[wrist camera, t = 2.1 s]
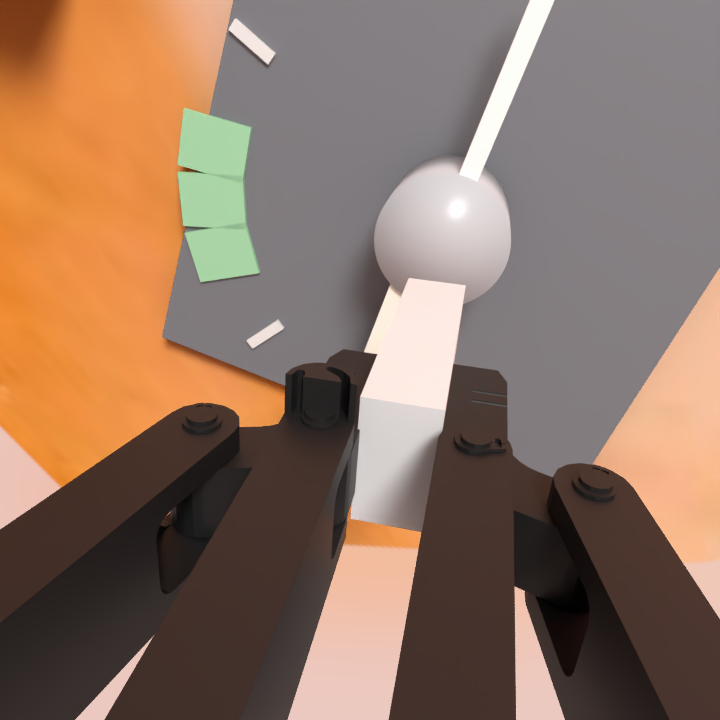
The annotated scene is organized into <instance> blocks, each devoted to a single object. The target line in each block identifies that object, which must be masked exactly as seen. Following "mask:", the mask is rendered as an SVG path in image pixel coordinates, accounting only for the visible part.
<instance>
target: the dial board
mask: <svg viewBox="0 0 720 720" xmlns="http://www.w3.org/2000/svg"><path fill="white" fill-rule="evenodd" d="M528 3H529V0H234V1H233V6H232V10H231V15H230V20H229V24H228V29H227V34H226V39H225V43H224V48H223V53H222V57H221V62H220V67H219V72H218V76H217V81H216V86H215V90H214V95H213V100H212V104H211V109H210V114H209V115H208V114H204V113H201V112H197V111H194V110H191V109H187V108H184V111H183V120H182V129H181V138H180V147H179V157H178V165H180V166H183V167H187V168H190V169H193V170H197V172H182V171H179V172H178V181H179V191H180V200H181V210H182V220H183V226H186V227H185V232H184V236H183V241H182V246H181V250H180V255H179V260H178V265H177V269H176V274H175V279H174V283H173V288H172V293H171V297H170V302H169V307H168V312H167V316H166V321H165V326H164V330H163V335H162V337H163V338H165V339H168V340H171V341H173V342H176V343H178V344H181V345H183V346H186V347H188V348H191V349H193V350H196V351H198V352H201V353H203V354H206V355H208V356H211V357H213V358H216V359H218V360H221V361H223V362H226V363H228V364H231V365H234V366H236V367H239V368H241V369H244V370H246V371H249V372H251V373H254V374H256V375H259V376H261V377H264V378H266V379H269V380H271V381H274V382H276V383H279V384H281V385H284V386H285V374H286V373H287V372H288V371H289V370H290V369H292V368H293V367H296V366H299V365H302V364H307V363H315V362H317V363H326V362H327V361H328V359H329V357H331V356H333V355H334V354H336V353H338V352H339V351H341V350H343V349H346V350H353V351H359V352H364V350H365V348H366V345H367V343H368V340H369V338H370V335H371V332H372V330H373V327H374V325H375V322H376V320H377V317H378V314H379V312H380V309H381V307H382V304H383V302H384V299H385V296H386V294H387V291H388V289H389V286H390V283H389V282H388V280H387V279H386V277H385V276H384V274H383V273H382V271H381V269H380V267H379V264H378V262H377V258H376V254H375V248H374V233H375V226H376V223H377V219H378V217H379V214H380V212H381V210H382V208H383V207H384V205H385V203H386V202H387V200H388V199H389V197H390V196H391V194H392V193H393V191H394V190H395V188H396V187H397V185H398V184H399V182H400V181H401V179H402V178H403V177H404V176H405V175H406V174H407V173H408V172H409V171H410V170H411V169H412V168H413V167H415V166H416V165H418V164H419V163H421V162H423V161H425V160H428V159H430V158H433V157H438V156H444V155H457V156H463V157H466V155H467V152H468V150H469V147H470V145H471V143H472V140H473V138H474V135H475V133H476V130H477V128H478V125H479V123H480V120H481V118H482V116H483V113H484V111H485V108H486V106H487V103H488V101H489V98H490V96H491V94H492V91H493V89H494V86H495V84H496V81H497V79H498V76H499V74H500V71H501V69H502V67H503V64H504V62H505V59H506V57H507V54H508V52H509V49H510V47H511V45H512V42H513V40H514V37H515V35H516V32H517V30H518V27H519V25H520V22H521V20H522V18H523V15H524V13H525V10H526V8H527V5H528ZM484 166H485V167H487V168H488V169H489V170H490V171H491V172H492V173H493V174H494V175H495V176H496V177H497V178H498V180H499V181H500V183H501V184H502V186H503V188H504V190H505V193H506V196H507V199H508V204H509V213H510V228H511V249H510V254H509V258H508V262H507V264H506V267H505V269H504V271H503V273H502V274H501V276H500V277H499V279H498V280H497V281H496V283H495V284H494V285H493V286H492V287H491V288H490V289H489V290H488V291H486V292H485V293H484V294H483V295H481V296H479V297H478V298H476V299H474V300H472V301H470V302H468V303H464V304H463V307H462V314H461V321H460V328H459V334H458V341H457V348H456V354H455V361H454V364H458V365H464V366H471V367H478V368H484V369H491V370H498V371H499V373H500V374H501V375H502V376H503V378H504V379H505V380H506V381H507V418H508V441H509V442H510V444H511V447H512V449H513V456H514V457H515V458H517V459H518V460H519V461H520V462H521V463H523V464H524V465H526V466H527V467H529V468H531V469H533V470H536V471H538V472H540V473H543V474H546V475H548V476H551V477H553V476H554V474H555V473H556V471H557V469H558V468H561V467H563V466H565V465H567V464H576V463H584V464H591V465H592V463H593V462H594V460H595V459H596V457H597V456H598V454H599V453H600V451H601V450H602V448H603V446H604V445H605V443H606V442H607V440H608V439H609V437H610V436H611V434H612V433H613V431H614V430H615V428H616V426H617V425H618V423H619V422H620V420H621V419H622V417H623V416H624V414H625V413H626V411H627V409H628V408H629V406H630V405H631V403H632V402H633V400H634V399H635V397H636V396H637V394H638V392H639V391H640V389H641V388H642V386H643V385H644V383H645V382H646V380H647V379H648V377H649V376H650V374H651V372H652V371H653V369H654V368H655V366H656V365H657V363H658V362H659V360H660V359H661V357H662V355H663V354H664V352H665V351H666V349H667V348H668V346H669V345H670V343H671V342H672V340H673V338H674V337H675V335H676V334H677V332H678V331H679V329H680V328H681V326H682V325H683V323H684V322H685V320H686V318H687V317H688V315H689V314H690V312H691V311H692V309H693V308H694V306H695V305H696V303H697V301H698V300H699V298H700V297H701V295H702V294H703V292H704V291H705V289H706V288H707V286H708V285H709V283H710V281H711V280H712V278H713V277H714V275H715V274H716V272H717V271H718V269H719V268H720V0H554V3H553V5H552V7H551V10H550V12H549V14H548V17H547V19H546V21H545V24H544V26H543V29H542V31H541V33H540V36H539V38H538V40H537V43H536V45H535V47H534V50H533V52H532V54H531V57H530V59H529V61H528V64H527V66H526V69H525V71H524V73H523V76H522V78H521V80H520V83H519V85H518V87H517V90H516V92H515V94H514V97H513V99H512V102H511V104H510V106H509V109H508V111H507V113H506V116H505V118H504V120H503V123H502V125H501V127H500V130H499V132H498V135H497V137H496V139H495V142H494V144H493V146H492V149H491V151H490V153H489V156H488V158H487V160H486V163H485V165H484Z"/></svg>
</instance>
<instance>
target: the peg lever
mask: <svg viewBox="0 0 720 720" xmlns="http://www.w3.org/2000/svg"><path fill="white" fill-rule="evenodd" d="M553 3H554V0H529V3H528V5H527V8H526V10H525V13H524V15H523V18H522V20H521V22H520V25H519V27H518V30H517V32H516V35H515V37H514V40H513V42H512V45H511V47H510V49H509V52H508V54H507V57H506V59H505V62H504V64H503V67H502V69H501V71H500V74H499V76H498V79H497V81H496V84H495V86H494V89H493V91H492V94H491V96H490V98H489V101H488V103H487V106H486V108H485V111H484V113H483V116H482V118H481V120H480V123H479V125H478V128H477V130H476V133H475V135H474V138H473V140H472V143H471V145H470V147H469V150H468V152H467V155H466V157H463V156H457V155H444V156H438V157H433V158H430V159H428V160H425V161H423V162H421V163H419V164H418V165H416V166H415V167H413V168H412V169H411V170H410V171H409V172H408V173H407V174H406V175H405V176H404V177H403V178H402V179H401V181H400V182H399V184H398V185H397V187H396V188H395V190H394V191H393V193H392V194H391V196H390V197H389V199H388V200H387V202H386V203H385V205H384V207H383V208H382V210H381V212H380V214H379V217H378V219H377V223H376V226H375V233H374V248H375V254H376V258H377V262H378V264H379V267H380V269H381V271H382V273H383V274H384V276H385V277H386V279H387V280H388V282H389V283H390V286H389V289H388V291H387V294H386V296H385V299H384V302H383V304H382V307H381V309H380V312H379V314H378V317H377V320H376V322H375V325H374V327H373V330H372V332H371V335H370V338H369V340H368V343H367V345H366V348H365V350H364V352H366V353H373V354H378V352H379V350H380V347H381V345H382V342H383V340H384V337H385V335H386V332H387V330H388V328H389V325H390V323H391V320H392V318H393V315H394V313H395V310H396V308H397V306H398V303H399V301H400V298H401V296H402V293H403V291H404V288H405V286H406V283H407V281H408V279H409V278H413V279H421V280H428V281H436V282H444V283H451V284H459V285H466V287H465V294H464V301H463V304H464V303H468V302H470V301H472V300H474V299H476V298H478V297H479V296H481V295H483V294H484V293H485V292H486V291H488V290H489V289H490V288H491V287H492V286H493V285H494V284H495V283H496V281H497V280H498V279H499V277H500V276H501V274H502V273H503V271H504V269H505V267H506V264H507V262H508V258H509V254H510V249H511V228H510V213H509V204H508V199H507V196H506V193H505V190H504V188H503V186H502V184H501V183H500V181H499V180H498V178H497V177H496V176H495V175H494V174H493V173H492V172H491V171H490V170H489V169H488V168H487V167H485V166H484V165H485V163H486V160H487V158H488V156H489V153H490V151H491V149H492V146H493V144H494V142H495V139H496V137H497V135H498V132H499V130H500V127H501V125H502V123H503V120H504V118H505V116H506V113H507V111H508V109H509V106H510V104H511V102H512V99H513V97H514V94H515V92H516V90H517V87H518V85H519V83H520V80H521V78H522V76H523V73H524V71H525V69H526V66H527V64H528V61H529V59H530V57H531V54H532V52H533V50H534V47H535V45H536V43H537V40H538V38H539V36H540V33H541V31H542V29H543V26H544V24H545V21H546V19H547V17H548V14H549V12H550V10H551V7H552V5H553Z"/></svg>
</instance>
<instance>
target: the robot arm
mask: <svg viewBox="0 0 720 720" xmlns="http://www.w3.org/2000/svg"><path fill="white" fill-rule="evenodd" d="M465 287H466V285H459V284H451V283H444V282H436V281H428V280H421V279H413V278H409V279H408V281H407V283H406V286H405V288H404V291H403V293H402V296H401V298H400V301H399V303H398V306H397V308H396V310H395V313H394V315H393V318H392V320H391V323H390V325H389V328H388V330H387V332H386V335H385V337H384V340H383V342H382V345H381V347H380V350H379V352H378V354H373V353H366V352H359V351H353V350H346V349H343V350H341V351H339V352H338V353H336V354H334V355H333V356H331V357H329V359H328V361H327V362H326V363H317V362H315V363H307V364H302V365H299V366H296V367H293V368H292V369H290V370H289V371H288V372H287V373H286V374H285V413H284V415H283V417H282V418H281V420H280V422H279V423H278V424H276V425H272V426H263V427H239V417H238V415H237V414H236V413H235V412H234V411H233V410H231V409H229V408H227V407H225V406H222V405H217V404H212V403H206V404H204V403H197V404H194V405H189V406H185V407H182V408H180V409H178V410H176V411H174V412H172V413H170V414H169V415H167V416H166V417H165V418H163V419H162V420H160V421H159V422H157V423H156V424H154V425H153V426H151V427H150V428H148V429H147V430H145V431H144V432H143V433H141V434H140V435H138V436H137V437H135V438H134V439H132V440H131V441H129V442H128V443H126V444H125V445H123V446H122V447H121V448H119V449H118V450H116V451H115V452H113V453H112V454H110V455H109V456H107V457H106V458H104V459H103V460H101V461H100V462H99V463H97V464H96V465H94V466H93V467H91V468H90V469H88V470H87V471H85V472H84V473H82V474H81V475H79V476H78V477H77V478H75V479H74V480H72V481H71V482H69V483H68V484H66V485H65V486H63V487H62V488H60V489H59V490H58V491H56V492H55V493H53V494H52V495H50V496H49V497H47V498H46V499H44V500H43V501H41V502H40V503H39V504H37V505H36V506H34V507H33V508H31V509H30V510H28V511H27V512H26V513H24V514H22V515H21V516H20V517H18V518H16V519H15V520H14V521H12V522H11V523H9V524H8V525H6V526H5V527H3V528H2V529H0V720H75V719H76V718H77V717H78V716H79V715H80V714H81V713H82V712H83V711H84V709H85V708H86V707H87V706H88V705H89V704H90V703H91V702H92V701H93V700H94V699H95V698H96V697H97V696H98V694H99V693H100V692H101V691H102V690H103V689H104V688H105V687H106V686H107V685H108V684H109V682H110V681H111V680H112V679H113V678H114V677H115V676H116V675H117V674H118V673H119V672H120V671H121V670H122V669H123V668H124V667H125V666H126V665H127V663H128V662H129V661H130V660H131V659H132V658H133V657H134V656H135V655H136V654H137V653H138V652H139V651H140V649H141V648H142V647H143V646H144V645H145V644H146V643H147V642H148V641H149V640H150V639H151V638H152V637H153V636H154V637H153V638H152V640H151V642H150V643H149V645H148V647H147V648H146V650H145V652H144V654H143V655H142V657H141V659H140V660H139V662H138V664H137V665H136V667H135V669H134V671H133V672H132V674H131V676H130V677H129V679H128V681H127V682H126V684H125V686H124V688H123V689H122V691H121V693H120V694H119V696H118V698H117V700H116V701H115V703H114V705H113V706H112V708H111V710H110V711H109V713H108V715H107V716H106V718H105V720H287V719H288V716H289V713H290V709H291V707H292V704H293V700H294V697H295V694H296V691H297V688H298V685H299V682H300V678H301V675H302V672H303V669H304V666H305V663H306V660H307V656H308V653H309V650H310V647H311V644H312V641H313V637H314V634H315V631H316V628H317V625H318V622H319V619H320V616H321V612H322V609H323V606H324V603H325V600H326V597H327V594H328V590H329V587H330V584H331V581H332V578H333V575H334V572H335V568H336V565H337V562H338V559H339V556H340V553H341V550H342V547H343V543H344V540H345V537H346V526H347V515H348V512H349V509H350V506H351V503H352V507H351V519H355V520H361V521H366V522H371V523H377V524H382V525H387V526H393V527H398V528H404V529H409V530H414V531H420V532H422V533H421V539H420V544H419V550H418V556H417V561H416V567H415V573H414V578H413V585H412V590H411V596H410V602H409V607H408V613H407V618H406V624H405V630H404V636H403V641H402V647H401V652H400V659H399V664H398V670H397V676H396V681H395V687H394V692H393V698H392V704H391V710H390V716H389V720H516V689H515V688H516V686H515V607H514V606H515V604H514V602H515V601H514V600H515V598H514V586H515V587H518V588H520V589H522V590H524V591H525V602H526V606H527V609H528V612H529V614H530V618H531V620H532V623H533V626H534V630H535V632H536V635H537V638H538V641H539V644H540V647H541V650H542V653H543V656H544V659H545V662H546V665H547V668H548V670H549V674H550V677H551V680H552V682H553V686H554V689H555V691H556V694H557V697H558V700H559V703H560V706H561V709H562V712H563V715H564V718H565V720H720V619H719V617H718V616H717V614H716V613H715V611H714V610H713V608H712V607H711V605H710V604H709V602H708V601H707V599H706V598H705V596H704V595H703V593H702V592H701V590H700V588H699V587H698V586H697V584H696V582H695V581H694V579H693V578H692V576H691V575H690V573H689V572H688V570H687V569H686V567H685V566H684V565H683V563H682V561H681V560H680V558H679V557H678V555H677V553H676V552H675V550H674V549H673V547H672V546H671V544H670V543H669V541H668V540H667V538H666V537H665V535H664V534H663V532H662V531H661V529H660V528H659V526H658V525H657V523H656V522H655V520H654V518H653V517H652V515H651V514H650V512H649V511H648V509H647V508H646V506H645V505H644V503H643V502H642V500H641V499H640V497H639V496H638V494H637V493H636V491H635V490H634V488H633V487H632V486H631V485H630V484H629V483H628V482H627V481H626V480H625V479H624V478H623V477H621V476H619V475H618V474H616V473H614V472H613V471H611V470H609V469H606V468H604V467H603V468H602V467H601V466H597V465H591V464H584V463H576V464H567V465H565V466H563V467H561V468H558V469H557V471H556V473H555V474H554V476H553V477H551V476H548V475H546V474H543V473H540V472H538V471H536V470H533V469H531V468H529V467H527V466H526V465H524V464H523V463H521V462H520V461H519V460H518V459H517V458H515V457H514V456H513V449H512V447H511V444H510V442H509V441H508V418H507V381H506V380H505V379H504V378H503V376H502V375H501V374H500V373H499V371H498V370H491V369H484V368H478V367H471V366H464V365H458V364H454V361H455V354H456V348H457V341H458V334H459V328H460V321H461V314H462V307H463V301H464V294H465ZM169 512H170V514H169V515H167V514H168V513H169ZM166 515H167V516H166Z"/></svg>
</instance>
